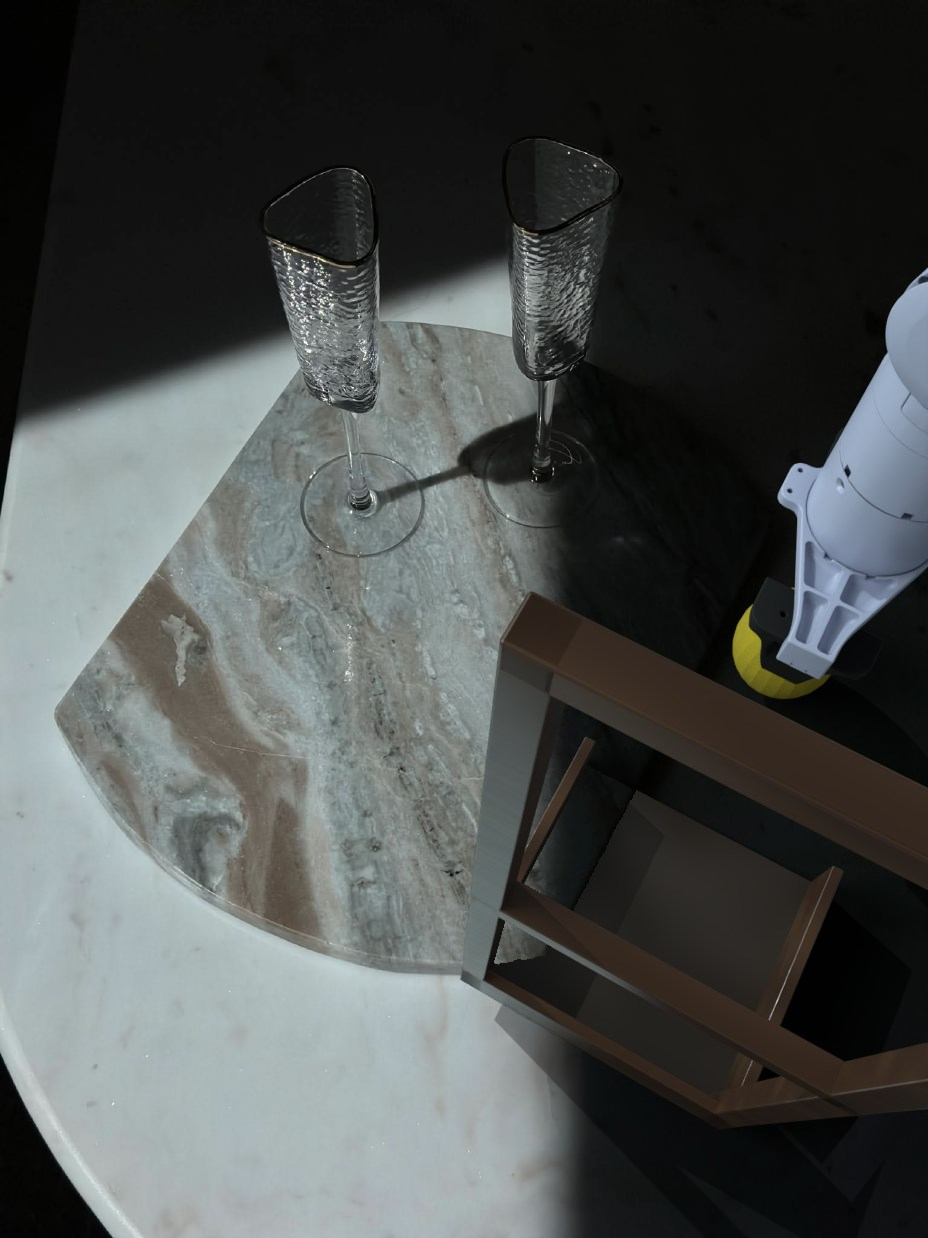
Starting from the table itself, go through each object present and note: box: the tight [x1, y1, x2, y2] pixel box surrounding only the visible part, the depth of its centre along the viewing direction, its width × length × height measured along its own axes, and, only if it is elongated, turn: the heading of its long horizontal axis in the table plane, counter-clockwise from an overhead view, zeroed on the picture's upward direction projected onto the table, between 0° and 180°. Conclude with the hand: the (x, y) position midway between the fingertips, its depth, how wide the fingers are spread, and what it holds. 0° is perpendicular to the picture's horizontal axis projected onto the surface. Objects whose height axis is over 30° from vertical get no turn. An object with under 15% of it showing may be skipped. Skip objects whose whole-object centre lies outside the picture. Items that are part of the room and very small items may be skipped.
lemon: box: [732, 587, 832, 700], centre depth 62 cm, size 6×6×8 cm
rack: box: [459, 590, 928, 1130], centre depth 40 cm, size 13×14×42 cm
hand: (810, 608), depth 58 cm, fingers open, 7 cm apart
